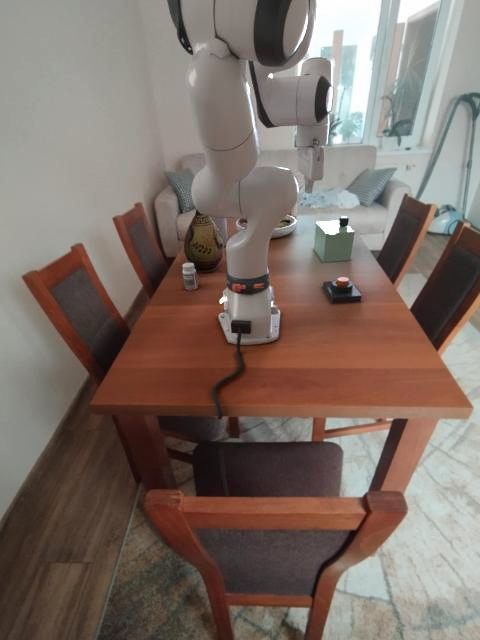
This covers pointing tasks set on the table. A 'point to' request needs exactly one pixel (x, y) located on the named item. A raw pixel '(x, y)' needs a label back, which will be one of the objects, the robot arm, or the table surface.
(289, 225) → the bowl
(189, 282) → the pill bottle
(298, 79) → the robot arm
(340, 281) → the button
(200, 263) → the ceramic jug
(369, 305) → the table surface
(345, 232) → the pale green box
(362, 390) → the table surface
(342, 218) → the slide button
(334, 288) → the black button base
